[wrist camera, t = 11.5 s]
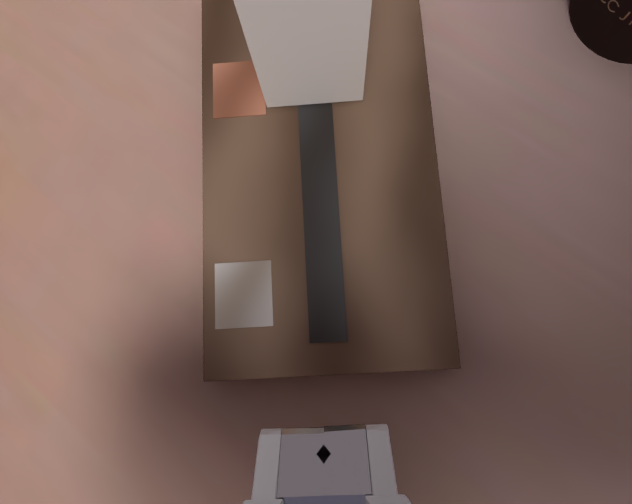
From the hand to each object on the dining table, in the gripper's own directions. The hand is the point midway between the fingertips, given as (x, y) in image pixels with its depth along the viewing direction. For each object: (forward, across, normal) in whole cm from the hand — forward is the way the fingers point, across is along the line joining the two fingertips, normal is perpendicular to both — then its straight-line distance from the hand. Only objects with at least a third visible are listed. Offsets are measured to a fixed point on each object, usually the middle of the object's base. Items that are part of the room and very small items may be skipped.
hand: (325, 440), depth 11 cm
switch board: (+17, 0, 0) cm, 17 cm away
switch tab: (+18, 0, -4) cm, 19 cm away
